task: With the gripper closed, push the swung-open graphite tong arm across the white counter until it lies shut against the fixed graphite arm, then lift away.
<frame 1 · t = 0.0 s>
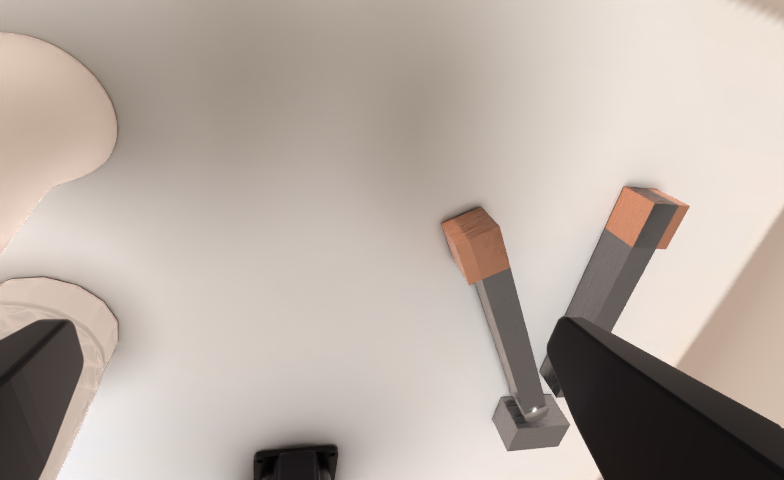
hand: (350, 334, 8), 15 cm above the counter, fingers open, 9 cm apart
tong arm: (503, 333, 28), point 1 cm above the counter, hinge at 30.0°
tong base: (519, 385, 33), on the counter
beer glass: (40, 110, 17), on the counter
white cup: (53, 322, 23), on the counter
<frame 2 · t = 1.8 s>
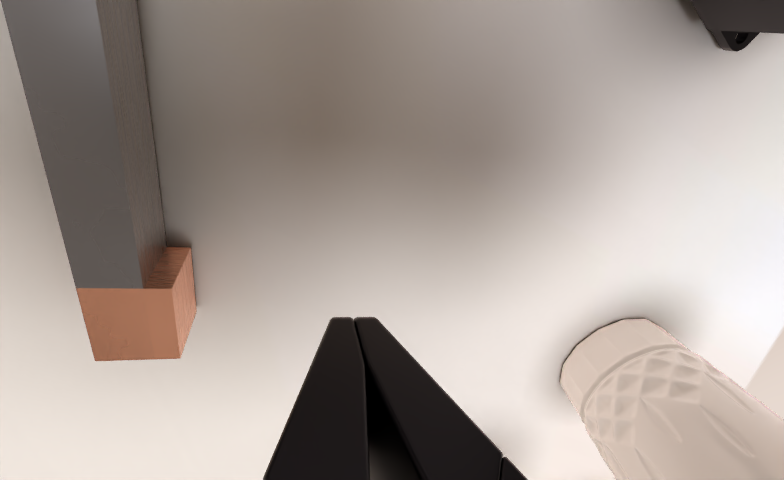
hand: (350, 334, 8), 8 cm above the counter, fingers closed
tong arm: (102, 55, 10), point 1 cm above the counter, hinge at 30.0°
white cup: (608, 357, 24), on the counter
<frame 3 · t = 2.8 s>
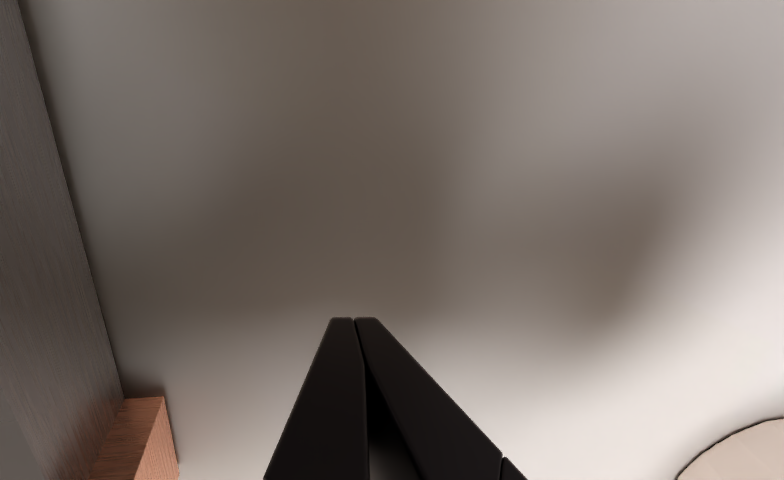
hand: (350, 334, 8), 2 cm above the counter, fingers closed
white cup: (733, 460, 18), on the counter
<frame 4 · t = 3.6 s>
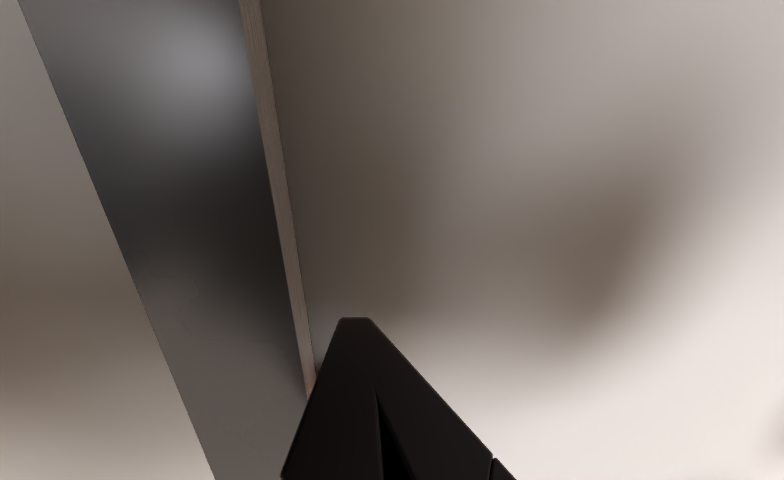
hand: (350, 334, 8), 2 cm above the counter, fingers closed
tong arm: (233, 143, 6), point 2 cm above the counter, hinge at 29.5°, touching gripper
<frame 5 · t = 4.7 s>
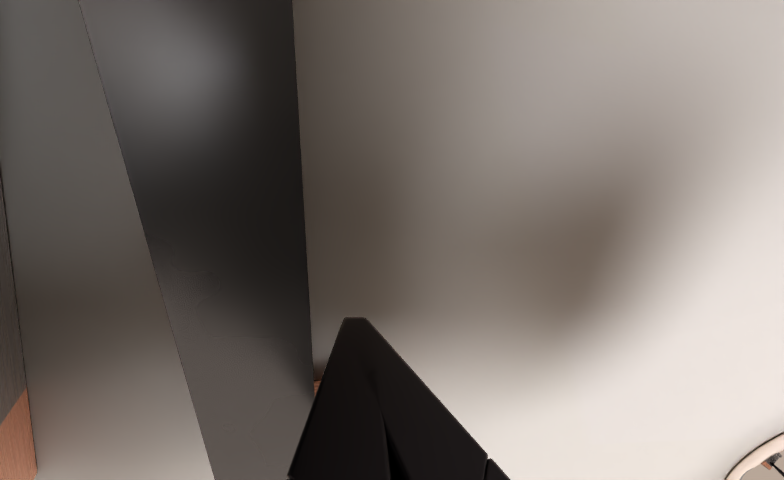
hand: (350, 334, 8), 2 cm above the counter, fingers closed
tong arm: (258, 140, 6), point 2 cm above the counter, hinge at 14.6°, touching gripper
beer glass: (771, 456, 21), on the counter
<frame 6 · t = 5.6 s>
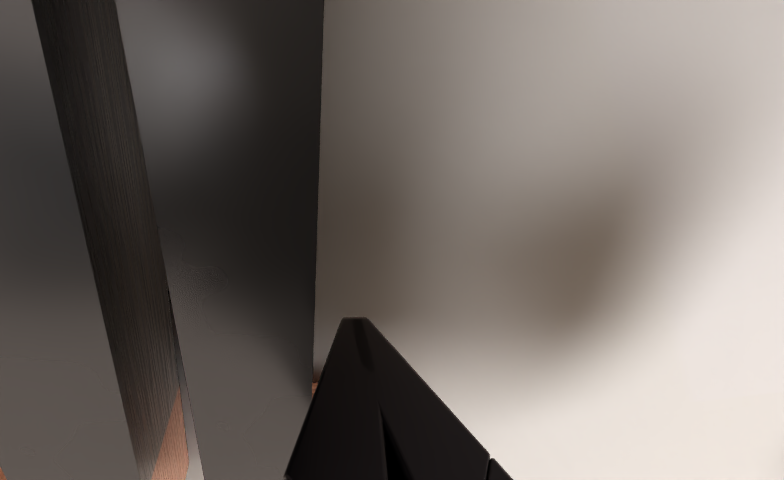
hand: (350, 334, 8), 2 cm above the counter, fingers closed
tong arm: (274, 139, 6), point 2 cm above the counter, hinge at 2.7°, touching gripper
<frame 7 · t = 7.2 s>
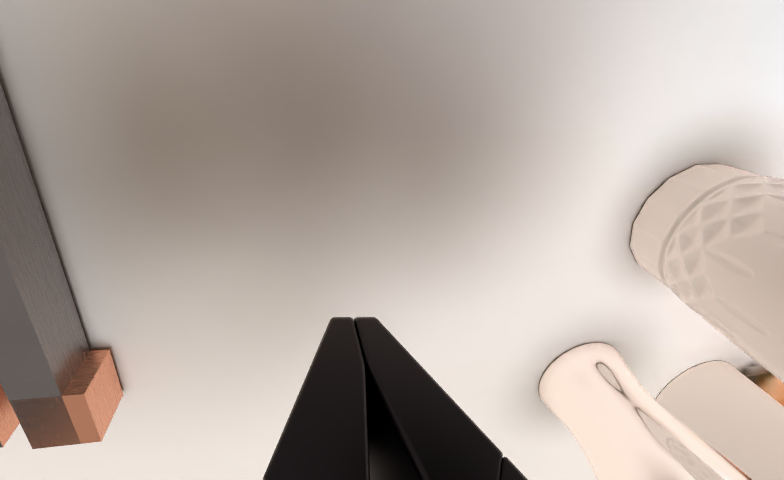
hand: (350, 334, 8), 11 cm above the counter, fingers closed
tong arm: (10, 240, 14), point 1 cm above the counter, hinge at 2.4°
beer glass: (576, 373, 28), on the counter
cylindrical container: (690, 391, 32), on the counter
white cup: (679, 218, 23), on the counter
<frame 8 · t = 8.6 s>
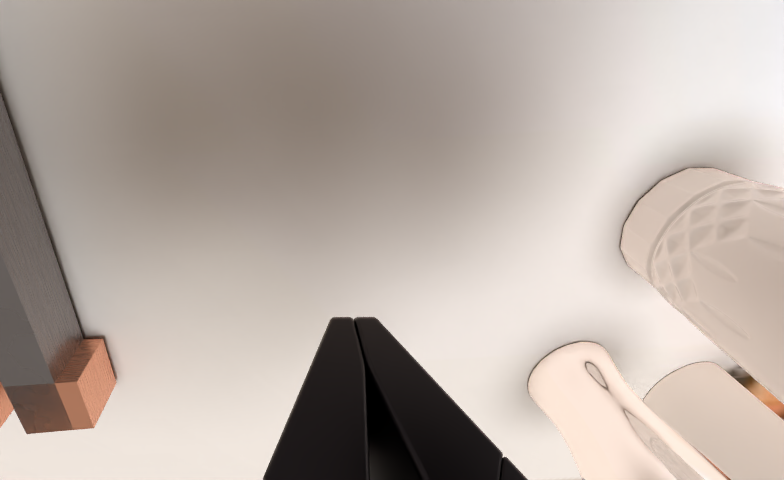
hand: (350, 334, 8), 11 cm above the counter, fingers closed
tong arm: (4, 230, 14), point 2 cm above the counter, hinge at 2.4°
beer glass: (565, 371, 28), on the counter
cylindrical container: (679, 391, 32), on the counter
white cup: (670, 220, 23), on the counter
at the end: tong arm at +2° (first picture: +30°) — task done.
